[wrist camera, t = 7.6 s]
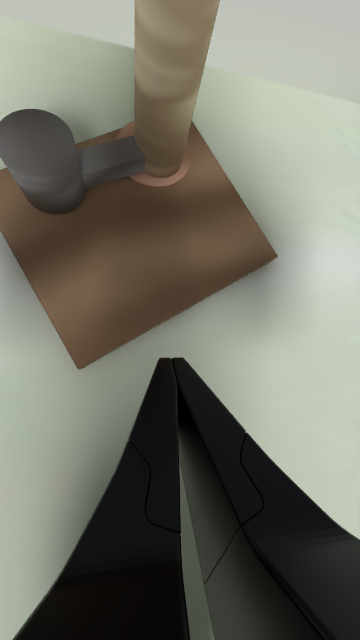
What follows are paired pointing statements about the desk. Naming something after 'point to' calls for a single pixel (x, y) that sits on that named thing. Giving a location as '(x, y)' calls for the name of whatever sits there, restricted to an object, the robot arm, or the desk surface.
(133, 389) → the desk surface
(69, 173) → the crank handle
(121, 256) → the brown board
